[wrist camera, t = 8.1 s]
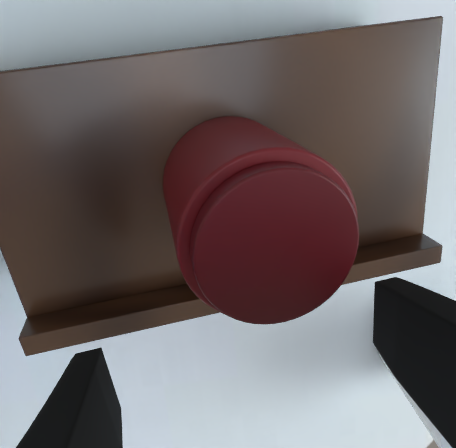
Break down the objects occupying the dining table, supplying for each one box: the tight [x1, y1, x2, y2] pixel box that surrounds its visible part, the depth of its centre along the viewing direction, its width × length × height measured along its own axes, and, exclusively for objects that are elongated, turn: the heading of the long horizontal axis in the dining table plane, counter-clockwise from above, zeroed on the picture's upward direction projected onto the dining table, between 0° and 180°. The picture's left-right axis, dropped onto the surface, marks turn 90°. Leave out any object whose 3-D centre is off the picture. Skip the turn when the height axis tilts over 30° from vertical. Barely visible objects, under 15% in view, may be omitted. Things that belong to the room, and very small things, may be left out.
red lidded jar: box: [163, 116, 359, 324], centre depth 12 cm, size 5×5×6 cm
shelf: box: [0, 16, 443, 356], centre depth 16 cm, size 16×9×6 cm, turn 97°
